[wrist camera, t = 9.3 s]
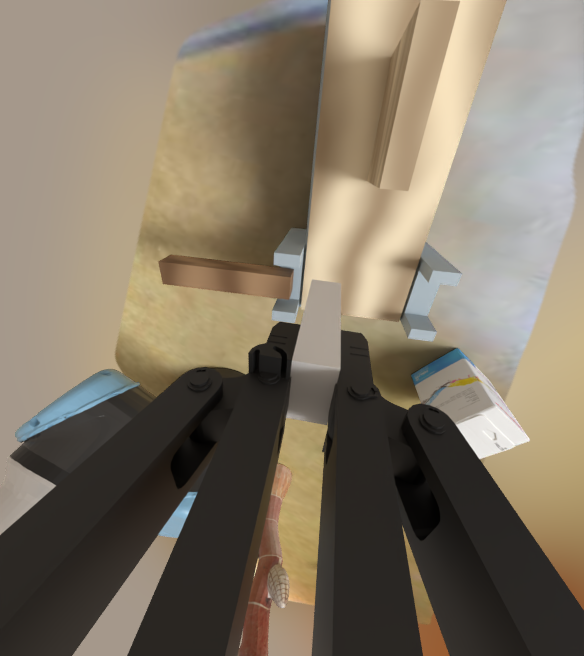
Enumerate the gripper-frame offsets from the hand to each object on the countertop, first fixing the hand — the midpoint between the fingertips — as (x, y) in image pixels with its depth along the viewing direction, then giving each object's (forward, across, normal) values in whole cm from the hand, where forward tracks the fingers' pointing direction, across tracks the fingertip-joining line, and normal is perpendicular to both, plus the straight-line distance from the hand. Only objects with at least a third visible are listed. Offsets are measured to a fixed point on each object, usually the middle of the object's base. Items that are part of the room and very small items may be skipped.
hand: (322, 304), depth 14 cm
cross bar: (+14, -10, -5) cm, 18 cm away
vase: (+22, -3, -59) cm, 63 cm away
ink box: (+23, +22, -22) cm, 39 cm away
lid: (+16, +3, +4) cm, 17 cm away
